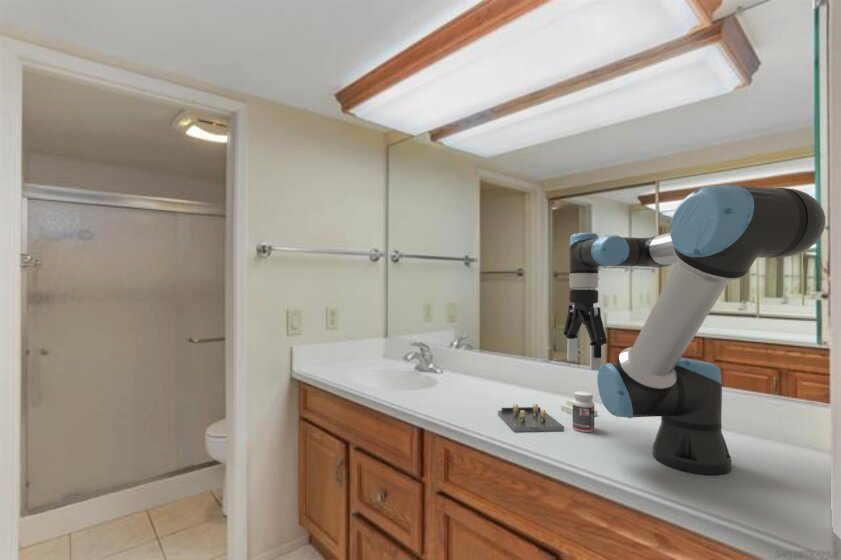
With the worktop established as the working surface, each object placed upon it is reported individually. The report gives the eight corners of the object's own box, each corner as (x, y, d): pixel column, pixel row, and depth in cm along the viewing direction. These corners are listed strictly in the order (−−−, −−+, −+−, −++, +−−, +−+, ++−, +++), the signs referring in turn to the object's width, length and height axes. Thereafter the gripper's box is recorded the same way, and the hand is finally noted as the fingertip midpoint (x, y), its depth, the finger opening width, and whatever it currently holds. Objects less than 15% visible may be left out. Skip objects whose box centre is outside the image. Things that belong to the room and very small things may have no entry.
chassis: (564, 430, 118) (564, 415, 118) (514, 432, 116) (514, 416, 116) (541, 413, 133) (541, 400, 134) (497, 414, 132) (497, 400, 132)
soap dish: (597, 415, 132) (597, 404, 132) (582, 418, 129) (583, 406, 129) (575, 408, 140) (575, 397, 140) (561, 410, 137) (561, 399, 137)
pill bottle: (596, 433, 116) (596, 396, 116) (574, 431, 117) (574, 395, 117) (592, 426, 121) (592, 391, 122) (571, 425, 123) (571, 390, 123)
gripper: (621, 289, 108) (621, 374, 108) (576, 288, 133) (575, 357, 132) (593, 289, 107) (592, 374, 107) (552, 288, 132) (552, 357, 132)
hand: (583, 365), depth 120 cm, fingers open, 13 cm apart
